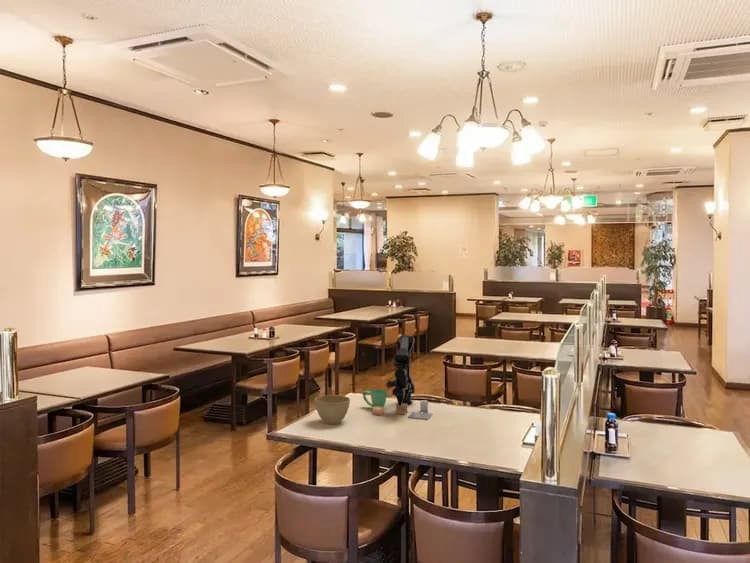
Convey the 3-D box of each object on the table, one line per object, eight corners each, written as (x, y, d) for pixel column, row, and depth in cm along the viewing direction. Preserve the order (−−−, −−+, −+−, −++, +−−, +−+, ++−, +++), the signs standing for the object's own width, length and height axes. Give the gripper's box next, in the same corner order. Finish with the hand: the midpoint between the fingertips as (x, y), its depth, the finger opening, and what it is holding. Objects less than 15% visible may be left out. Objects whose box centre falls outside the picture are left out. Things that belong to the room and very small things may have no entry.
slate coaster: (412, 412, 314) (412, 411, 314) (432, 414, 311) (432, 413, 311) (407, 418, 304) (407, 417, 304) (428, 419, 300) (428, 418, 300)
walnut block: (398, 411, 317) (398, 403, 316) (407, 412, 315) (407, 403, 315) (396, 414, 312) (396, 405, 312) (405, 415, 310) (405, 405, 310)
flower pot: (348, 427, 286) (348, 403, 286) (312, 426, 286) (312, 403, 286) (350, 417, 304) (350, 395, 304) (317, 417, 304) (317, 394, 304)
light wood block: (420, 410, 319) (420, 400, 319) (427, 410, 319) (427, 400, 319) (420, 412, 315) (420, 402, 315) (427, 412, 315) (427, 402, 315)
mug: (390, 407, 324) (390, 390, 324) (383, 412, 316) (383, 394, 315) (366, 405, 331) (367, 387, 330) (359, 409, 322) (359, 391, 321)
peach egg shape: (374, 412, 316) (374, 405, 316) (384, 413, 314) (385, 406, 314) (371, 414, 310) (371, 408, 310) (381, 415, 308) (382, 409, 308)
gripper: (392, 371, 324) (392, 398, 325) (383, 378, 306) (383, 406, 307) (411, 372, 321) (411, 400, 321) (403, 379, 303) (403, 408, 304)
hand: (401, 403), depth 313 cm, fingers open, 9 cm apart
